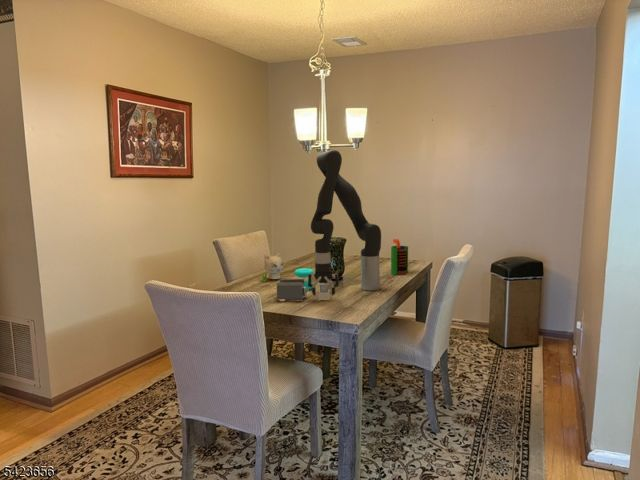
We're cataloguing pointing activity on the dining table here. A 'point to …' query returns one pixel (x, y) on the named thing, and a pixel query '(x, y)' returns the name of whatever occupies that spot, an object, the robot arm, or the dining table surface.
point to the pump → (324, 292)
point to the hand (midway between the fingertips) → (323, 295)
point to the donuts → (304, 275)
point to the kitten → (273, 266)
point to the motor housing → (291, 289)
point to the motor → (399, 259)
